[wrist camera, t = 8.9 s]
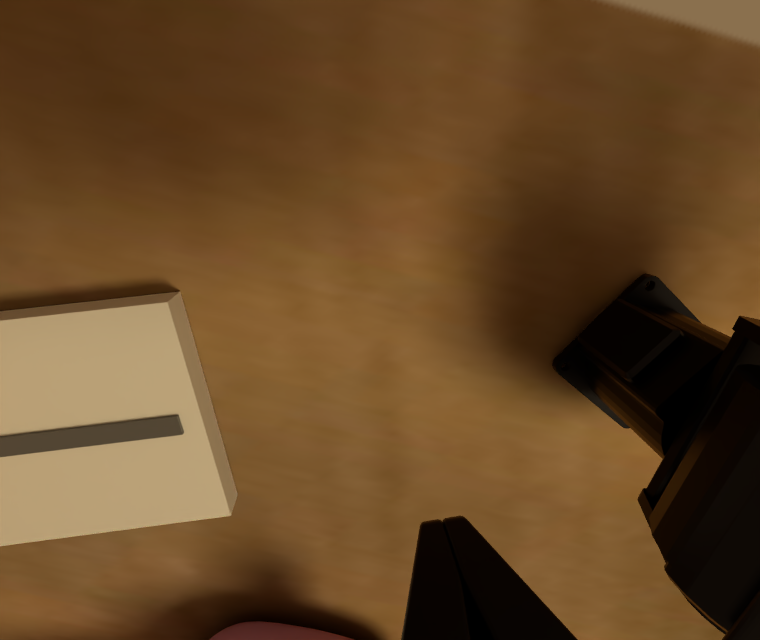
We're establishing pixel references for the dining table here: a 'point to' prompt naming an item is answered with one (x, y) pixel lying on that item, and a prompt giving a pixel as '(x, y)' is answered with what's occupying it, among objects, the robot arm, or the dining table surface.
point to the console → (105, 421)
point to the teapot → (273, 632)
